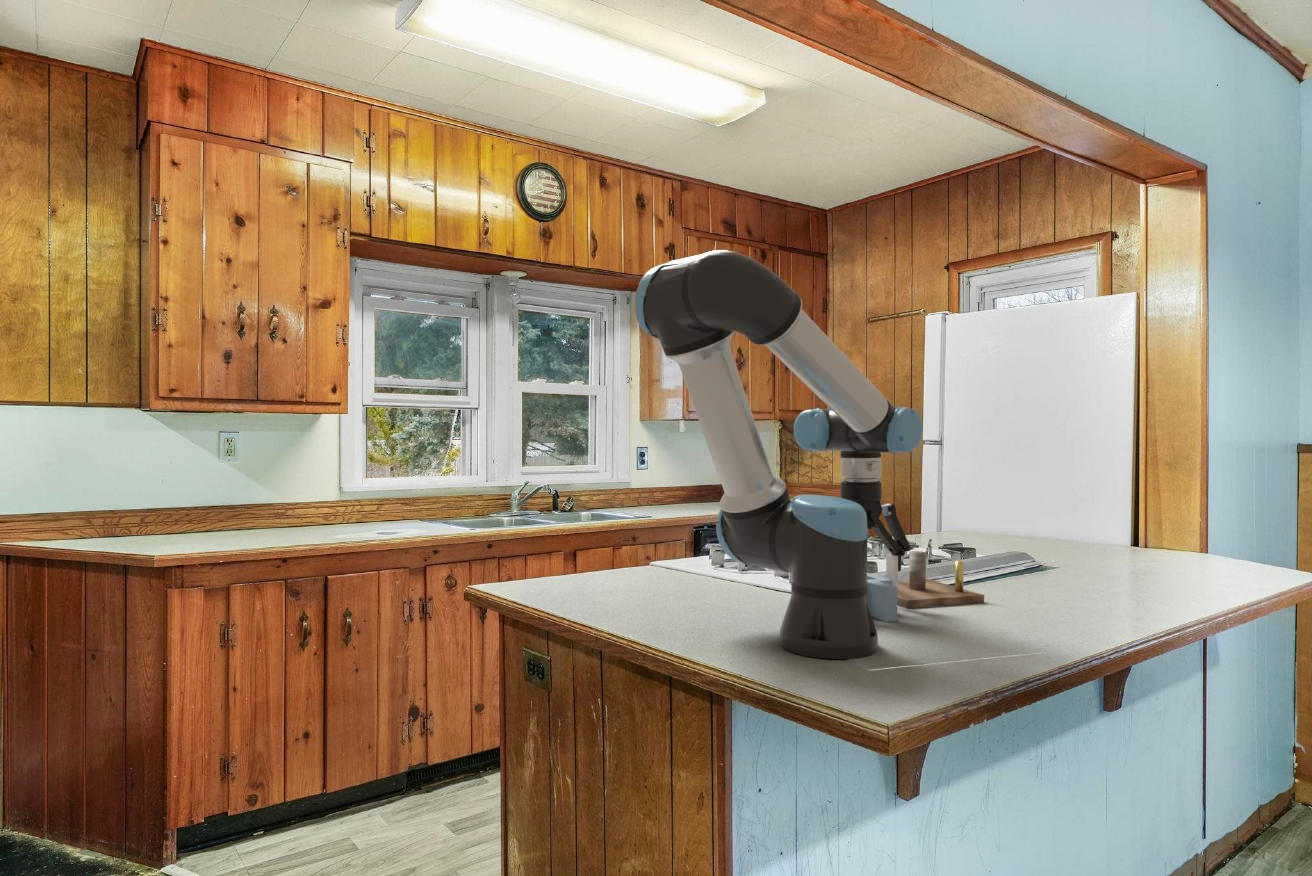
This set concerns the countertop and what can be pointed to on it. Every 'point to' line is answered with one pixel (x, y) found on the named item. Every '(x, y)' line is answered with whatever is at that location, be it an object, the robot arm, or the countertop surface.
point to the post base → (929, 588)
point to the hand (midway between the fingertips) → (861, 591)
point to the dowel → (959, 576)
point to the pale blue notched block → (882, 598)
